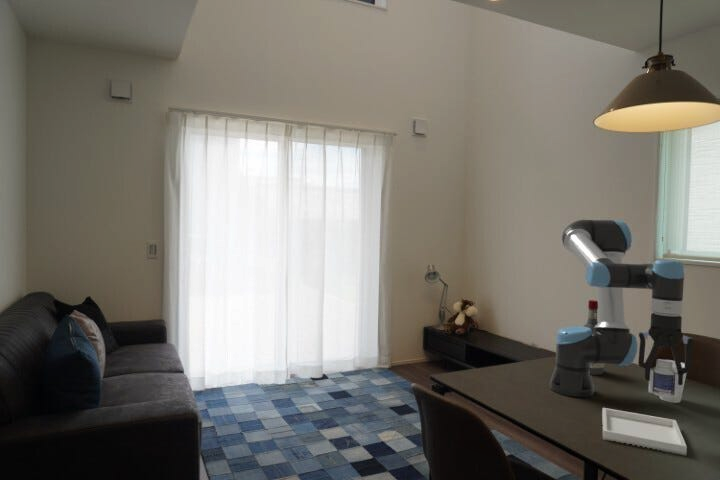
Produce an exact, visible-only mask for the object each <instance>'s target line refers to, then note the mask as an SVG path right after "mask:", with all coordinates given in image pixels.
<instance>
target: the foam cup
mask: <svg viewBox="0 0 720 480" xmlns="http://www.w3.org/2000/svg"><path fill="white" fill-rule="evenodd" d="M667 360H668V361H671V362H672V368H671V369H673V370H674V372H677V368H676V364H675V361H674V360H671V359H667ZM655 365H656V364H655ZM681 366H682V368H685V362H681ZM655 367H657V365H656V366H655ZM686 377H687V373H684V374H683V384H682V385H678V395H677V397H674V396H673V397H662V396H659V399H660V400H662V401H664V402H668V403H673V404H674V403H675V404H677V403H678V404H679V403H681V401H682V396H683V391H684V387H685V382H686Z"/></svg>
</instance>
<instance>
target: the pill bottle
mask: <svg viewBox="0 0 720 480" xmlns="http://www.w3.org/2000/svg"><path fill="white" fill-rule="evenodd" d="M668 360H669V359H660V358H658V359H656V360H655V365H657V367H656V366H654V367H653V368H652V369H653V389H652V394H654V395H655V396H659V397H660V396H662V397H673V396H674V381H675V372H674V370H673V369H671V368H672V362H671V361H668Z"/></svg>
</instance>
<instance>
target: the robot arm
mask: <svg viewBox="0 0 720 480" xmlns="http://www.w3.org/2000/svg"><path fill="white" fill-rule="evenodd" d="M631 233H632V232H631V229H630V227H629V226H628V225H627V223H625V222H624V221H622V220H614V219H578V220H576V221H575V220H574V221H573V222H572V223H569V224H568V226H566V227H565V228H564V230H563V232H562V235H561V240H562V244H563V246H564V247H565V249H566V250H567V251H568V252H570V253H572V254H574V256H575V257H577V259H578V260H579V262H580V263H581V264H582V265H583V266H584V267H585V268H586V269H585V279H586V283H587V284H588V285H589V286H590V287H595V288H596V287H597V290H596V291H597V301H598V309H597V322H598V324H597V325H596V326H595V327H594V332H592V331H591V329H590V328H588V327H583V326H580V325H579V326H578V325H576V326H575V325H572V326H566V327H561V328H560V329H559V330H558V331H557V334H556V340H555V342H556V345H555V346H556V348H555V367H554V369H553V373H552V374H551V375H552V376H551V378H550V381H549V388H550V389H551V391H554V392H555V393H557V394H560V395H564V396H569V397H576V398H587V397H588V398H589V397H593V396H594V395H595V386H594V381H593V378H592V375H590V364H604V366H606V365H607V366H608V365H610V366H616V367H617V366H629V365H631V364H633V362H634V361H635V359H636V358H637V357H636V356H637V354H638V360H637V361H638V362H637V363H638V366H639V367H641V368H644V379H645V381H648V393H650V394H653V392H652V389H653V368H652V366H653V364H654V361H655V358H656V355H657V353H658V350H659V348H660V347H667V348H670V350H671V353H672V357H673V361H675V364H676V368H677V372H675V381H674V397H677V395H678V385H682V384H683V374H684V373H686V374H691V372H692V346H693V344H694V339H693V338H692V337H691V336H687V335H684V334H683V332H682V324H683V323H682V321H683V317H682V314H683V297H684V284H685V283H684V282H685V264H684V263H683V262H682V261H679V260H668V259H667V260H666V259H656V260H654V262H653V264H652V263H641V264H638V263H622V259H623V258H624V257H625V256H626V252H628V251H629V250H630V249H631V247H632V239H633V238H632V234H631ZM624 289H639V290H641V289H643V290H651V304H650V305H651V306H650V307H651V309H650V310H651V312H652V313H651V314H650V327H649V329H648V330H647V331H638V337H639V348H638V340H637V337H636V335H635V334H633V333H631V332H630V331H631V329H630V327H629V326H628V325H626V323H625V312H624V311H625V308H624V307H625V306H624ZM649 336H650V338H651V339H652V341H653V344H652V347H651V350H650V352H649V355H648V357H647V360H646V362H645V355H646V354H645V352H646V340H648V338H649ZM681 340H683V341H682V342H683V344H684V364H685V368H682V366H681V363H682V362H681V359H680V356H679V352H678V348H677V344H678V343H680V341H681ZM638 349H639V350H638ZM638 351H639V352H638Z"/></svg>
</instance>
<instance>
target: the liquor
mask: <svg viewBox="0 0 720 480" xmlns="http://www.w3.org/2000/svg"><path fill="white" fill-rule="evenodd" d="M587 308H588V312H587V313H588V316H587V321H586V323H585V324H584V325H583V326H582V327H588V328H590V329H591V331H592V332H594V327H595V326H596V325H597V324H598V322H599V321H598V300H593V299H592V300H591V299H590V300H588V306H587ZM604 372H605V364H590V374H591V376H596V375H599V376H600V375H603V374H604Z"/></svg>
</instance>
